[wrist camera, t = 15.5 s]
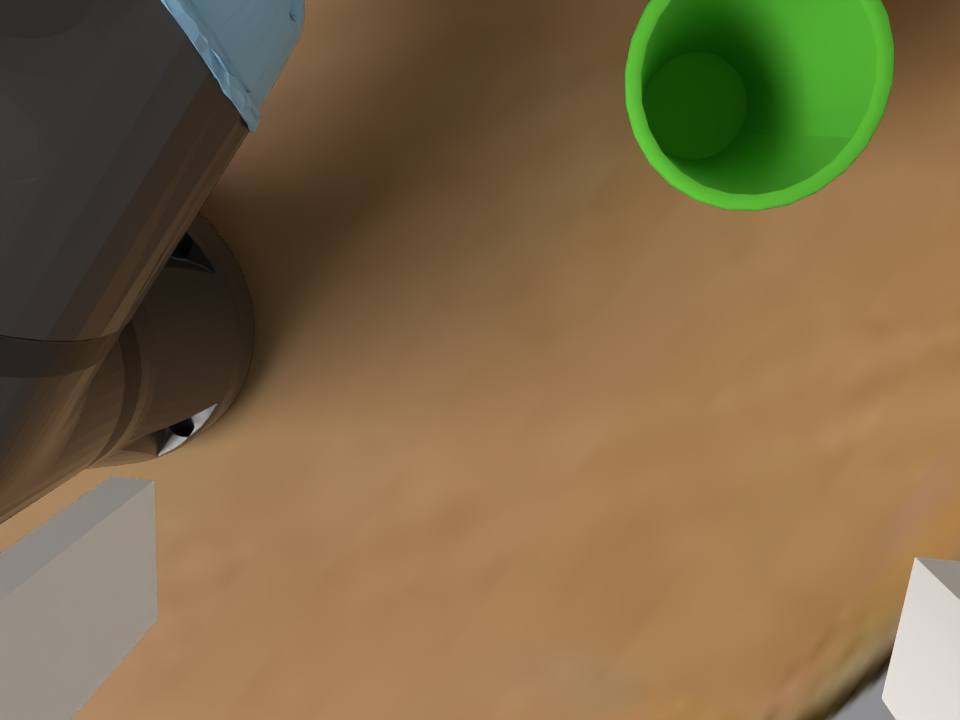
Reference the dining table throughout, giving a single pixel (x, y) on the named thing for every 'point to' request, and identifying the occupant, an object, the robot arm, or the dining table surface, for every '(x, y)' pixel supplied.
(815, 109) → the cup
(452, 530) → the dining table surface
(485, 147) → the dining table surface
